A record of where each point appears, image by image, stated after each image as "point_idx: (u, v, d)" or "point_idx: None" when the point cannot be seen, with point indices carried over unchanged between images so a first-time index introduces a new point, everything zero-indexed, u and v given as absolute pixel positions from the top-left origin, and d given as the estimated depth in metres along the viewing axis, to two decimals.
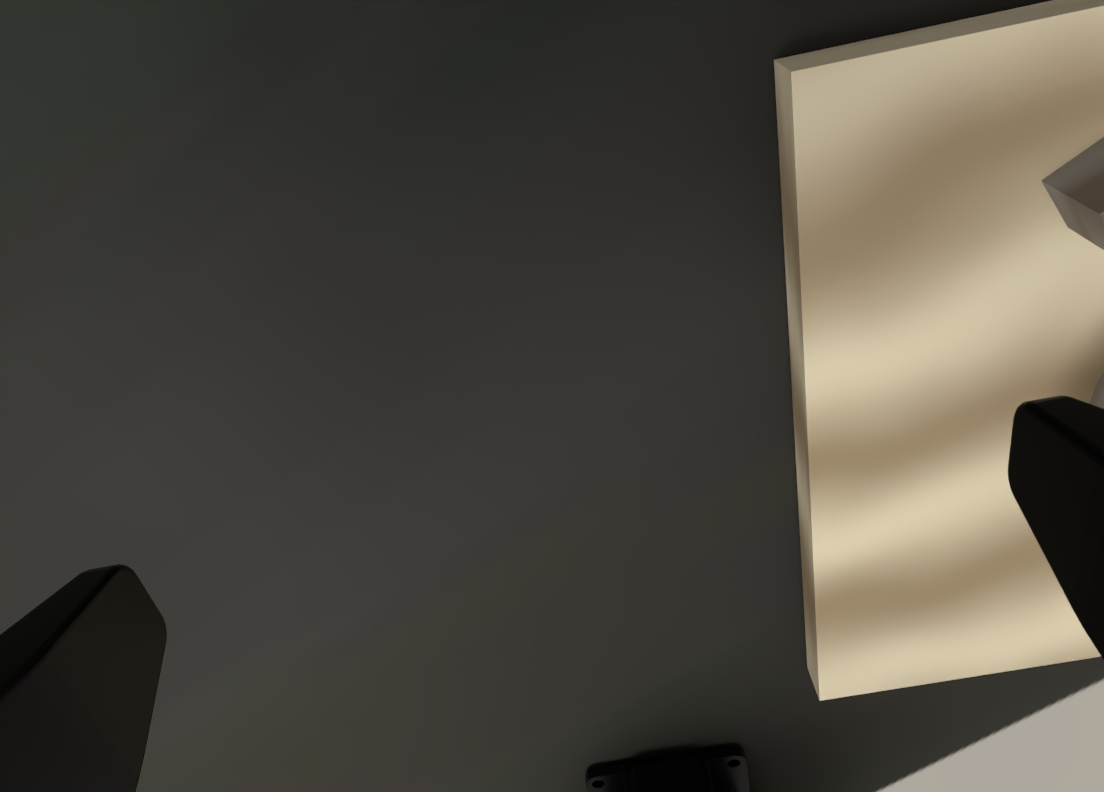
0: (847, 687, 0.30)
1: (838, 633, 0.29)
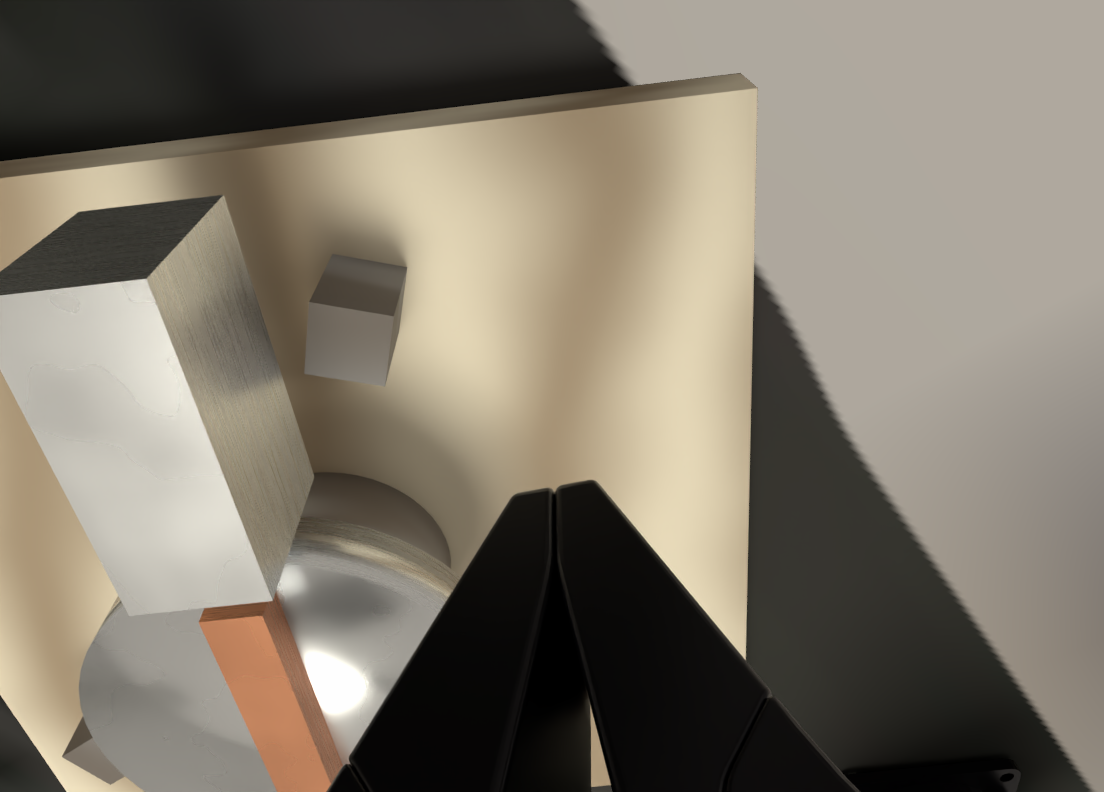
0: None
1: None
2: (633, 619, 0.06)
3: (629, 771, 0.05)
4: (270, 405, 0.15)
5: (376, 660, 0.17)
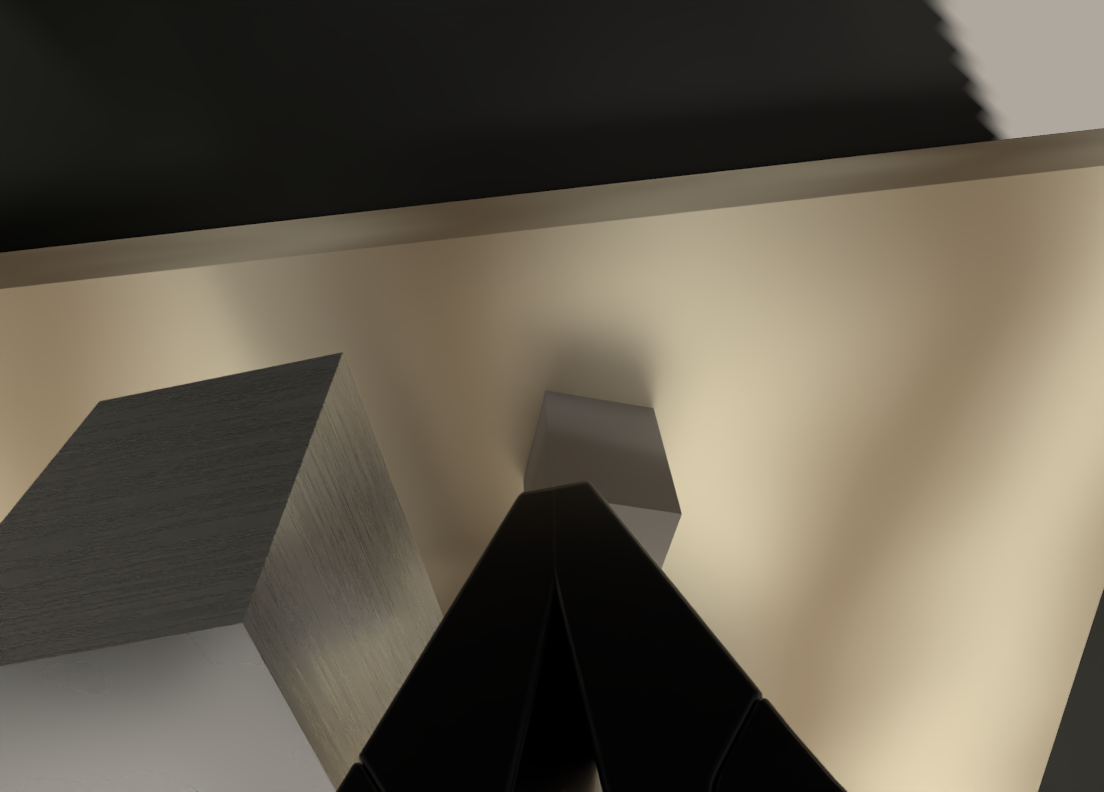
0: None
1: None
2: (625, 620, 0.06)
3: (619, 773, 0.05)
4: None
5: None
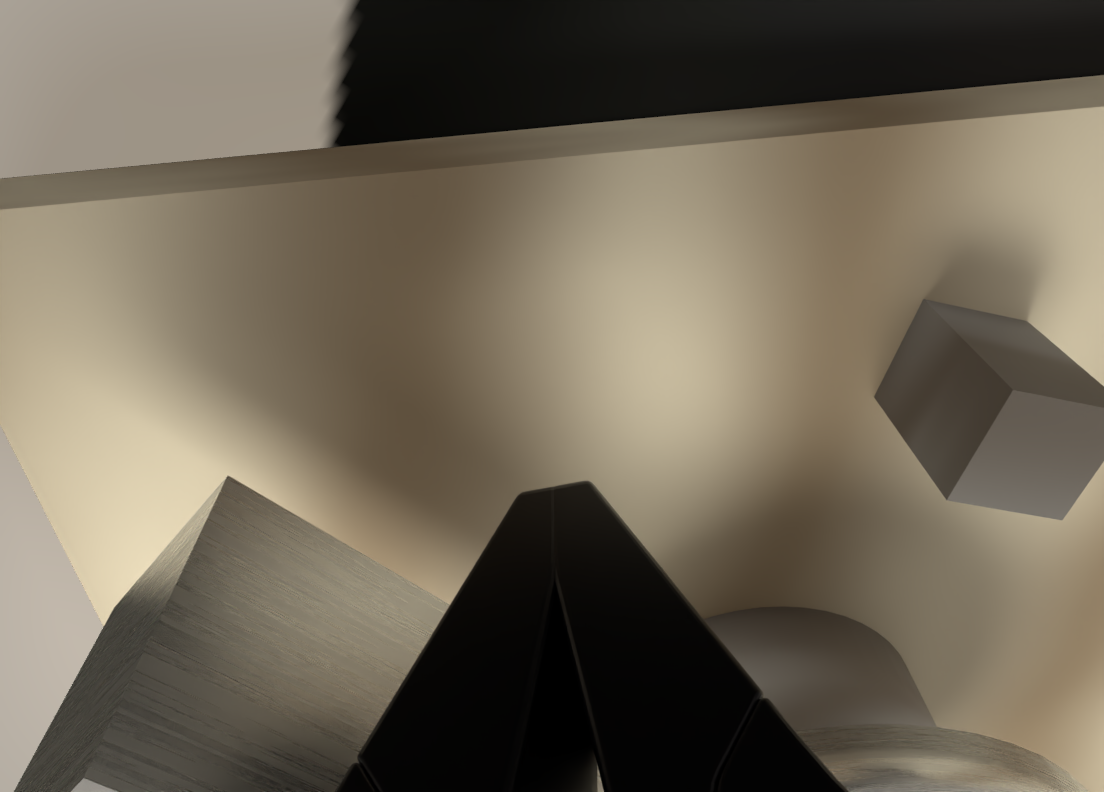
0: None
1: None
2: (626, 620, 0.06)
3: (621, 772, 0.05)
4: None
5: None
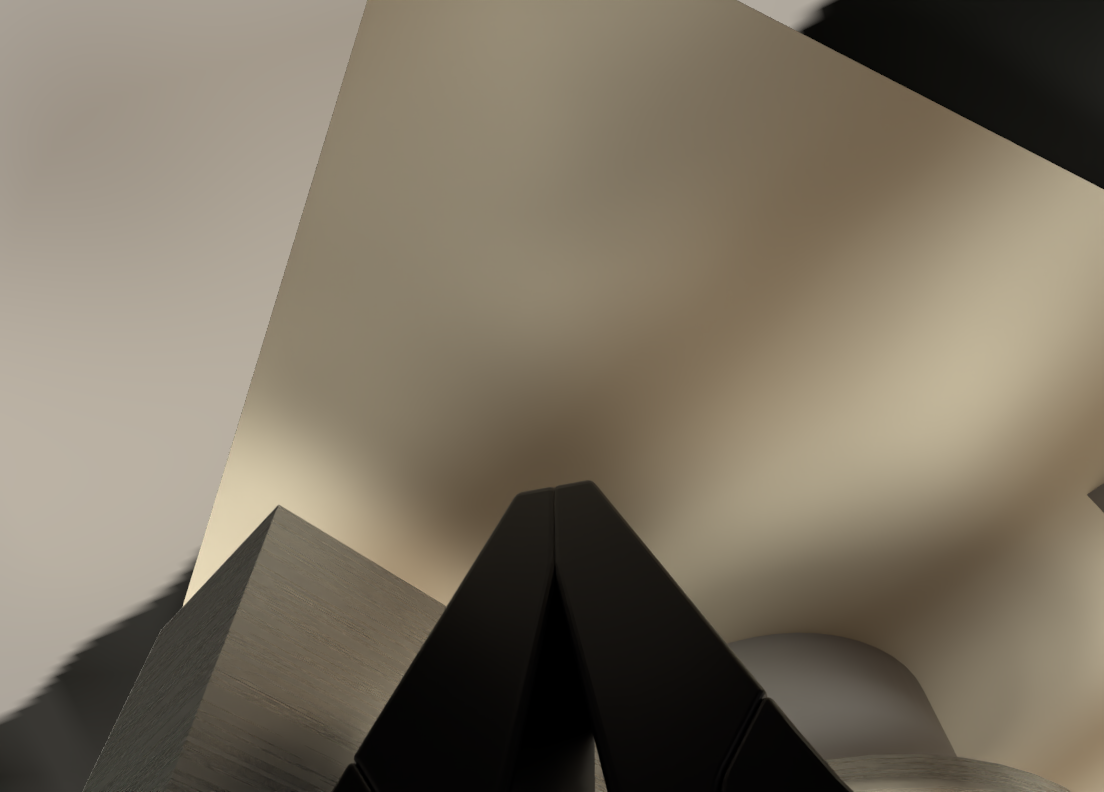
0: None
1: None
2: (629, 620, 0.06)
3: (624, 772, 0.05)
4: None
5: None
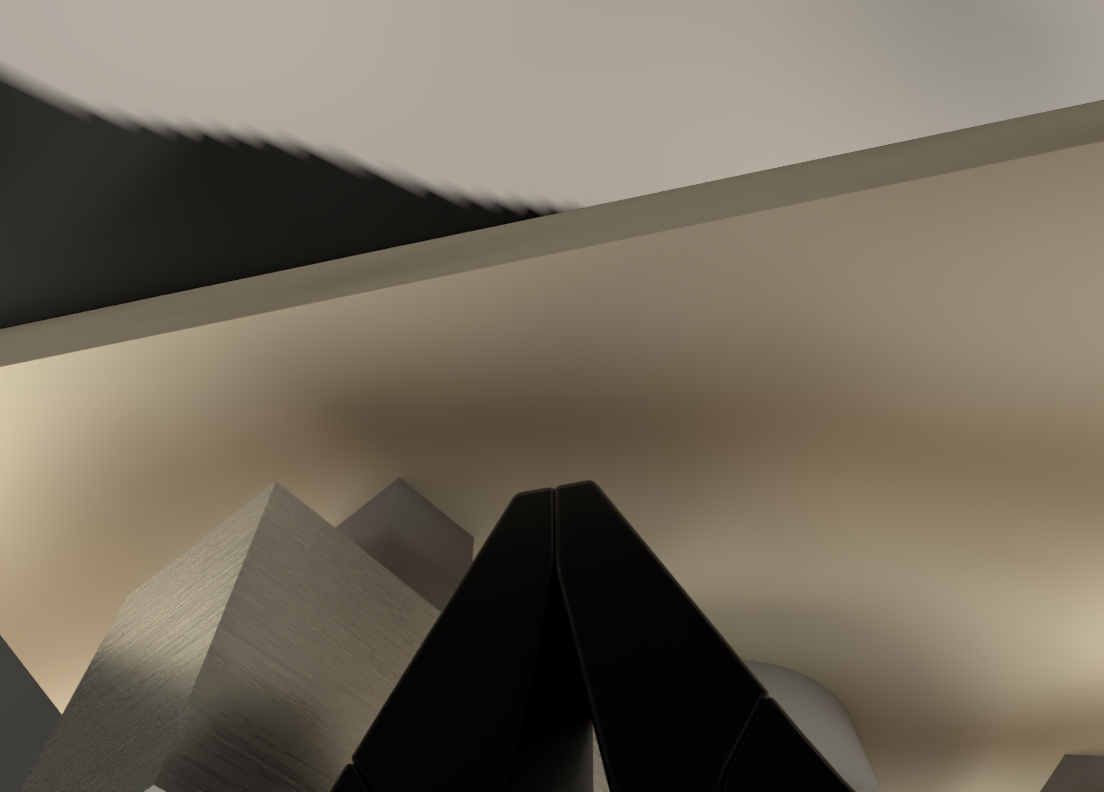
0: None
1: None
2: (631, 619, 0.06)
3: (626, 771, 0.05)
4: None
5: None
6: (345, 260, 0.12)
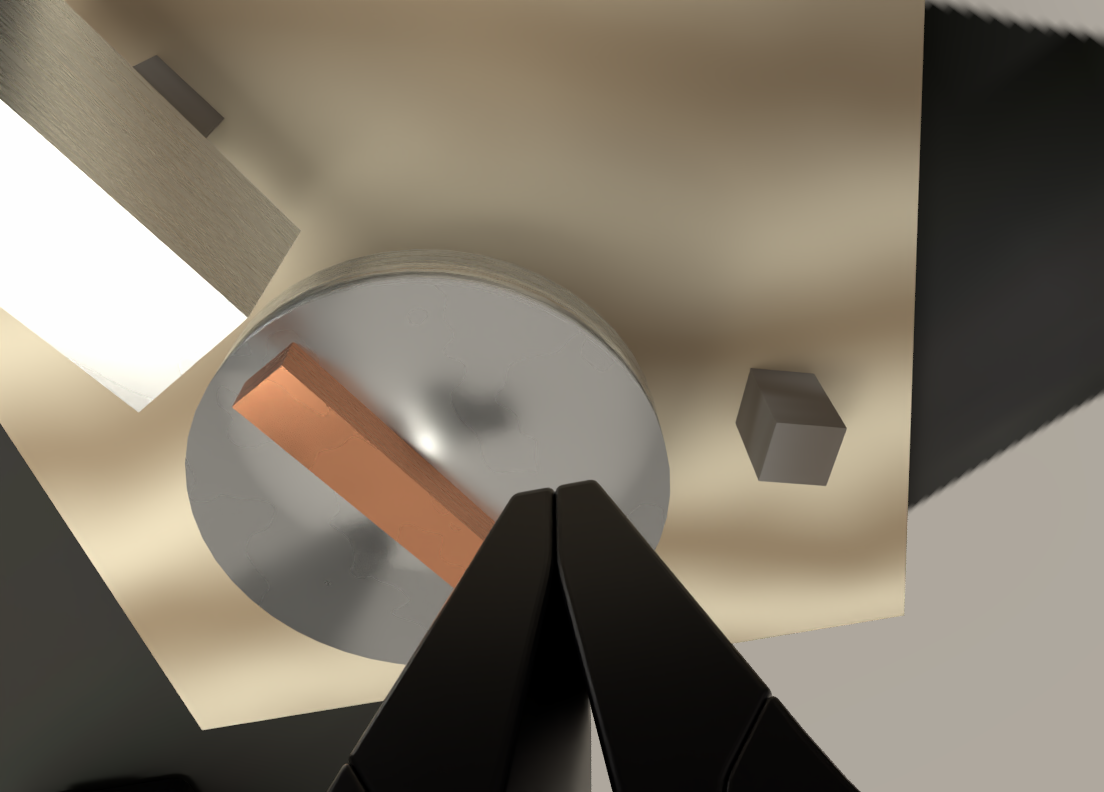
0: (226, 715, 0.26)
1: (179, 654, 0.25)
2: (633, 619, 0.06)
3: (629, 771, 0.05)
4: (173, 142, 0.13)
5: (457, 385, 0.15)
6: None
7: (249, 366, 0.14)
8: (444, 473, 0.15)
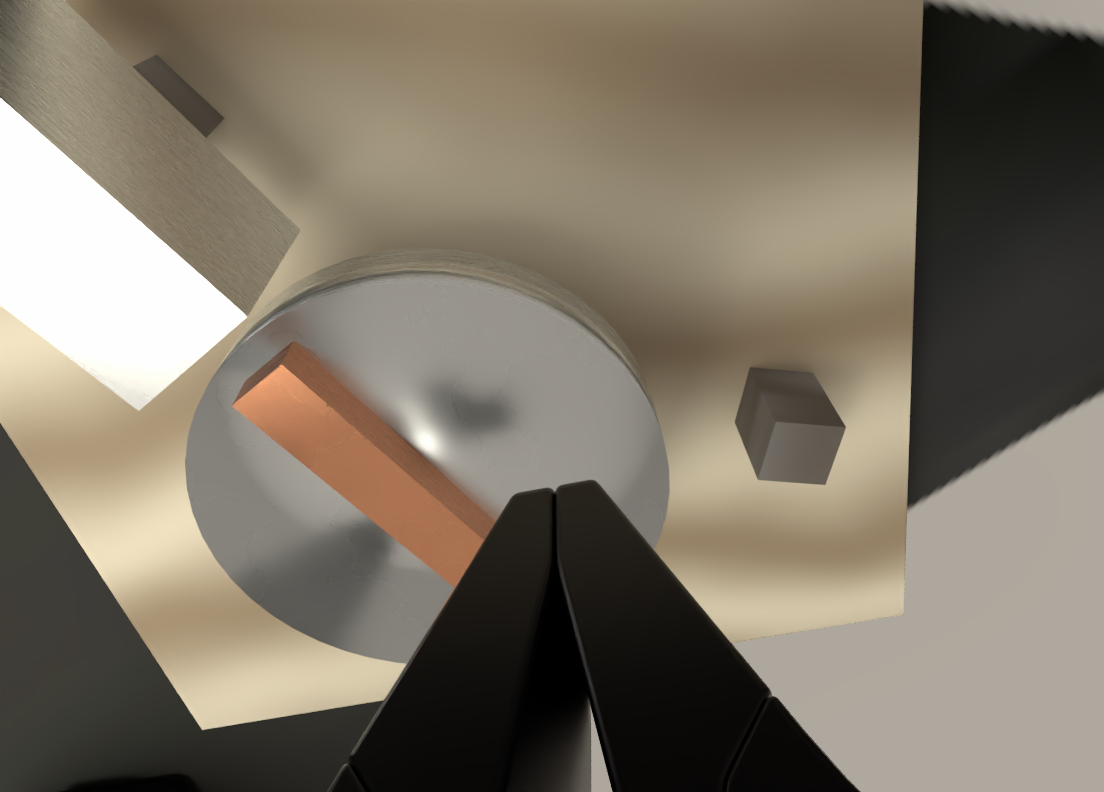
0: (226, 715, 0.26)
1: (179, 654, 0.25)
2: (633, 619, 0.06)
3: (629, 771, 0.05)
4: (174, 141, 0.13)
5: (456, 384, 0.15)
6: None
7: (249, 365, 0.14)
8: (444, 472, 0.16)
